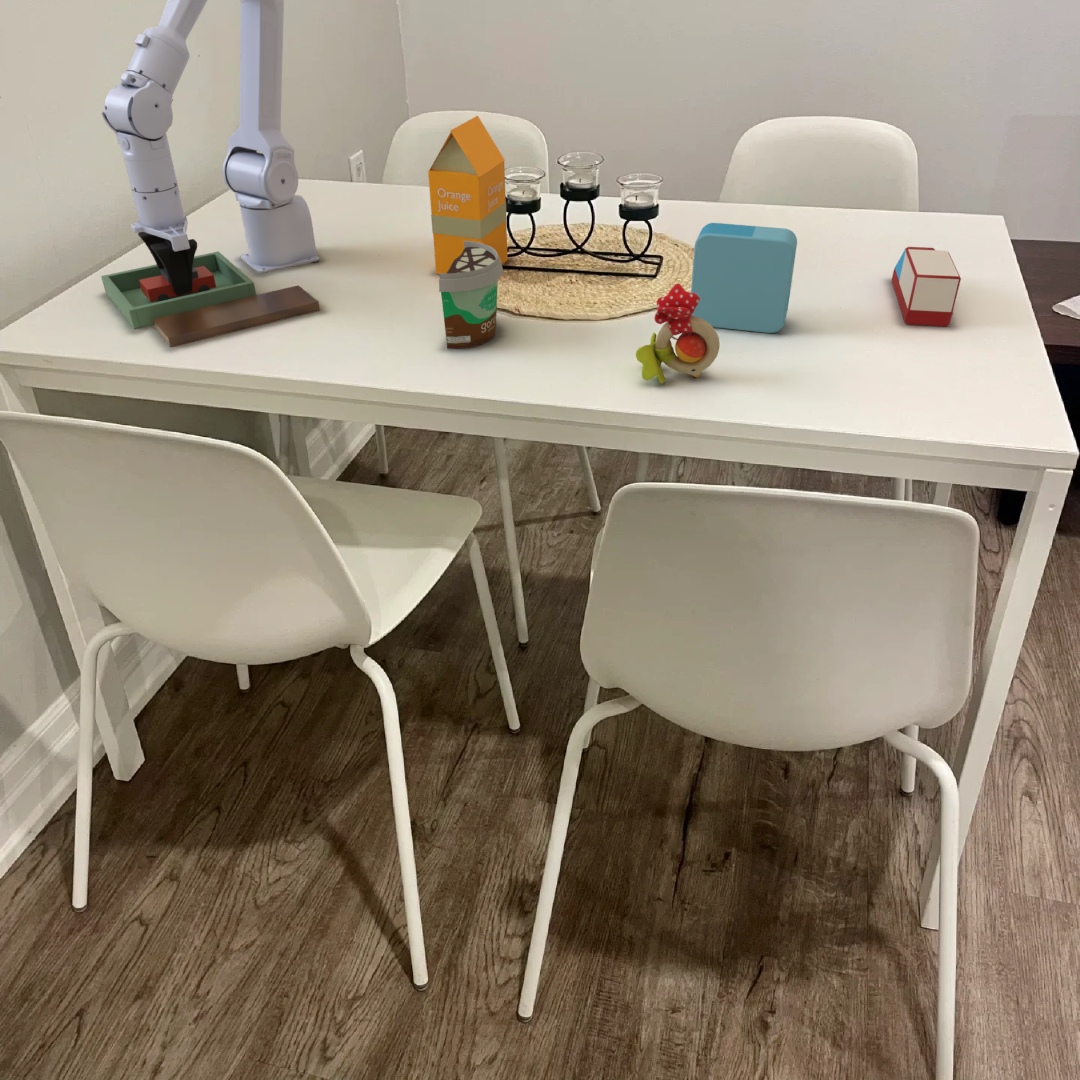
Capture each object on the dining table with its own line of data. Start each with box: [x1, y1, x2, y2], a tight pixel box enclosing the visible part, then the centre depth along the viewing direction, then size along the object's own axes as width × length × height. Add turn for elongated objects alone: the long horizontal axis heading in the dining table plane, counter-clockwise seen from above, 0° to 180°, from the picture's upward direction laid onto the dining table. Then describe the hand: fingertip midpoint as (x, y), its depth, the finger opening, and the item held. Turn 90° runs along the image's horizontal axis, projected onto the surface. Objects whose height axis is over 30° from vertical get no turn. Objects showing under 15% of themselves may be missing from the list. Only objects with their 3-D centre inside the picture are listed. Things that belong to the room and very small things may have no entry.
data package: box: [690, 222, 798, 334], centre depth 125 cm, size 12×4×12 cm, turn 73°
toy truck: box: [891, 246, 962, 328], centre depth 131 cm, size 6×15×7 cm, turn 170°
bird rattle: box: [635, 283, 721, 385], centre depth 114 cm, size 6×11×9 cm
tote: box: [100, 251, 257, 330], centre depth 137 cm, size 17×15×3 cm
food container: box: [438, 241, 504, 350], centre depth 124 cm, size 12×6×10 cm, turn 168°
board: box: [153, 284, 321, 348], centre depth 131 cm, size 20×7×2 cm, turn 123°
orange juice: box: [427, 115, 509, 275], centre depth 140 cm, size 8×9×20 cm
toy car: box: [139, 266, 216, 302], centre depth 137 cm, size 9×4×3 cm, turn 123°
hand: (178, 287), depth 137 cm, fingers closed on toy car, 4 cm apart
